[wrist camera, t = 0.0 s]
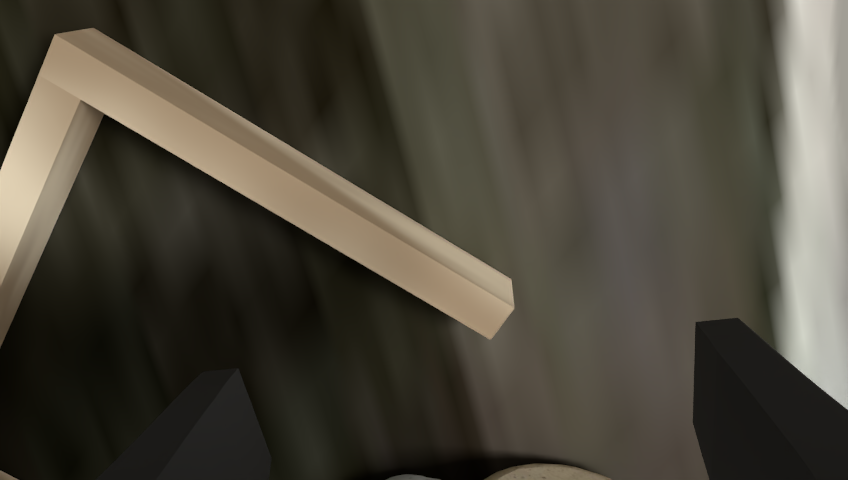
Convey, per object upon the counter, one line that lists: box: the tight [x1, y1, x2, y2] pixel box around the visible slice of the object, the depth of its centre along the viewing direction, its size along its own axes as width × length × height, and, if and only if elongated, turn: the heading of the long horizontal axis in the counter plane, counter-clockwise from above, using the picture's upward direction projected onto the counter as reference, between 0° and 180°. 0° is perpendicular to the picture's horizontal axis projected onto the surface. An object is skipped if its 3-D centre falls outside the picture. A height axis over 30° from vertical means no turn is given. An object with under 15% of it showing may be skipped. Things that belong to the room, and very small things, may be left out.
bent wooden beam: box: [0, 28, 514, 480], centre depth 23 cm, size 17×14×2 cm
